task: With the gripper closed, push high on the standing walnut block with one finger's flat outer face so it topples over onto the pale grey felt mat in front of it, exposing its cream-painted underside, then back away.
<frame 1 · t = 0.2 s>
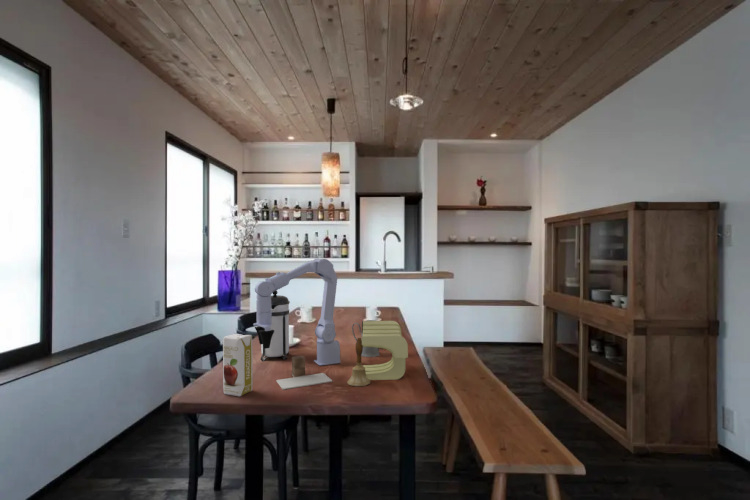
hand: (264, 346, 156), 10 cm above the table, fingers open, 7 cm apart
coffee press: (274, 356, 178), on the table
hand bell: (358, 383, 141), on the table, touching slatted curved stool
slatted curved stool: (383, 374, 151), on the table, touching hand bell
glass holder: (365, 354, 181), on the table
juice carton: (238, 393, 132), on the table
walnut block: (298, 375, 150), on the table
felt mat: (304, 381, 143), on the table
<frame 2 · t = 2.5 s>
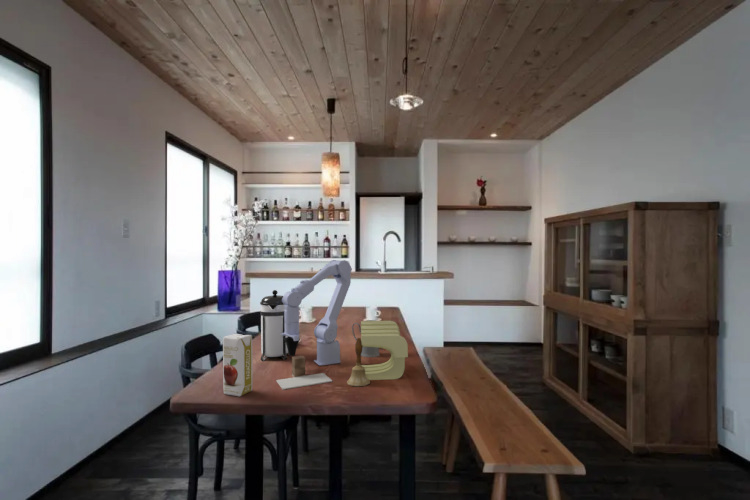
hand: (291, 355, 159), 5 cm above the table, fingers closed
nothing on the table moved.
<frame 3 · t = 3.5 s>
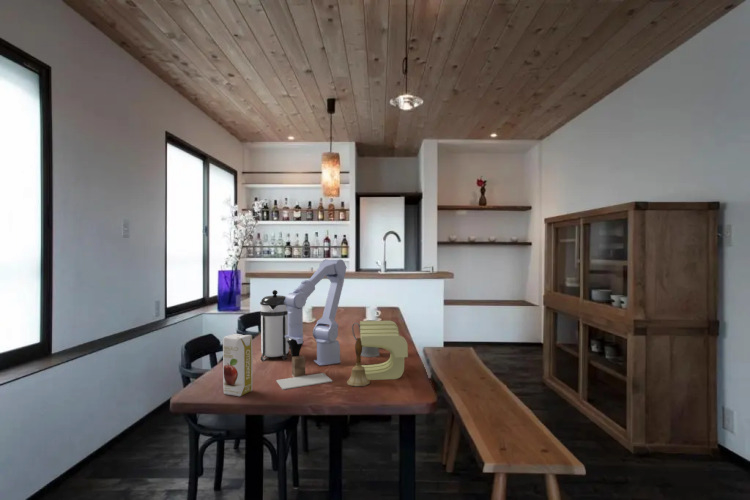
hand: (295, 358, 154), 5 cm above the table, fingers closed
nothing on the table moved.
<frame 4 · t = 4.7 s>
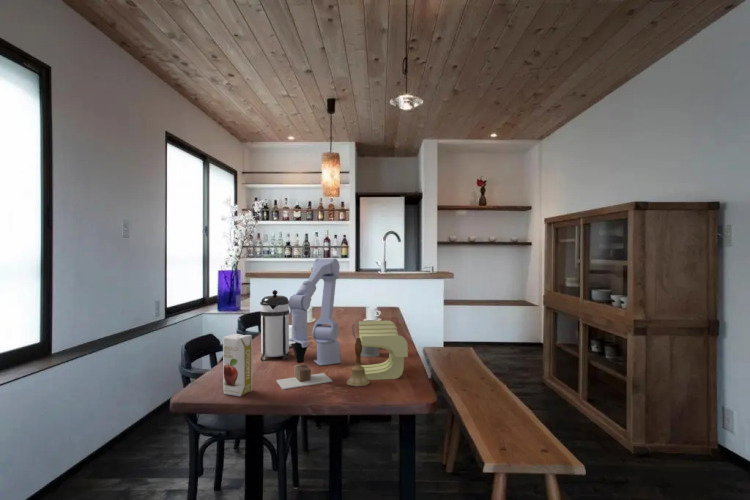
hand: (299, 362, 148), 5 cm above the table, fingers closed
walnut block: (299, 370, 148), point 2 cm above the table, tilted 90°, touching felt mat
everything else where it was.
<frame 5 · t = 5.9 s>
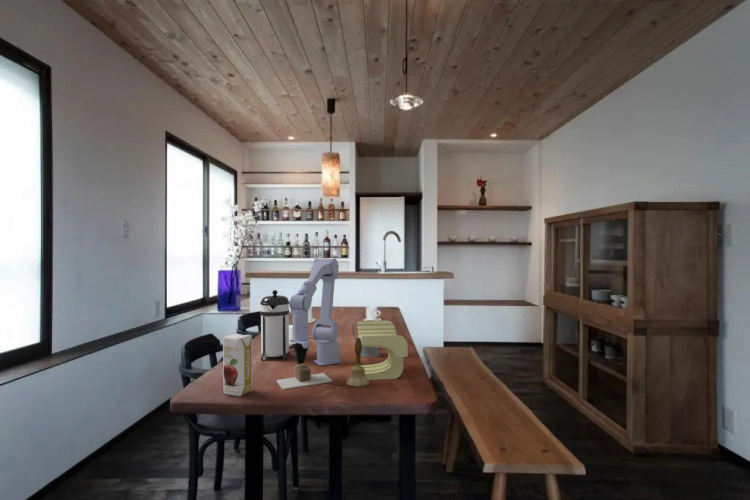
hand: (300, 363, 147), 5 cm above the table, fingers closed
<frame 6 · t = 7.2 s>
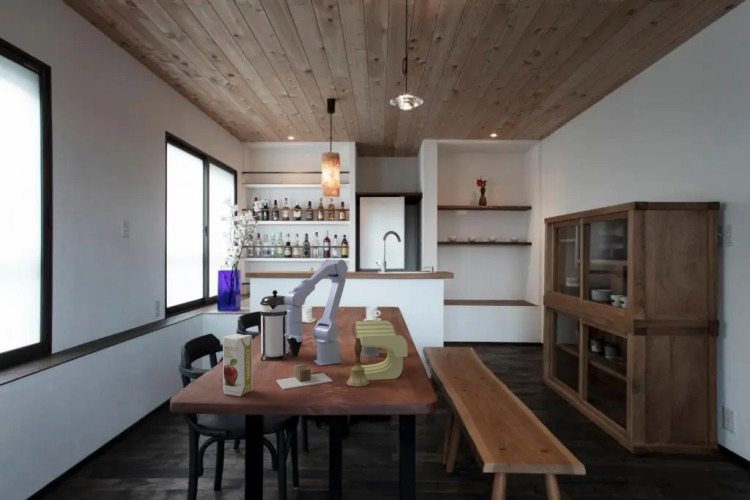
hand: (295, 356, 155), 6 cm above the table, fingers closed
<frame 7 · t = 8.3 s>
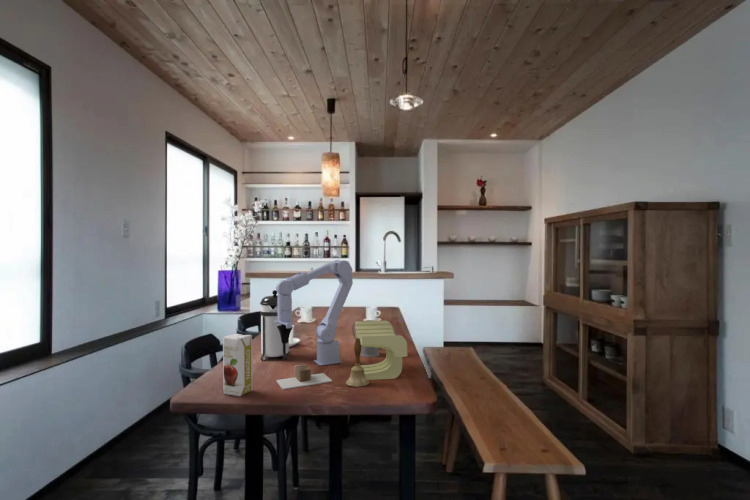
hand: (284, 343, 161), 10 cm above the table, fingers closed
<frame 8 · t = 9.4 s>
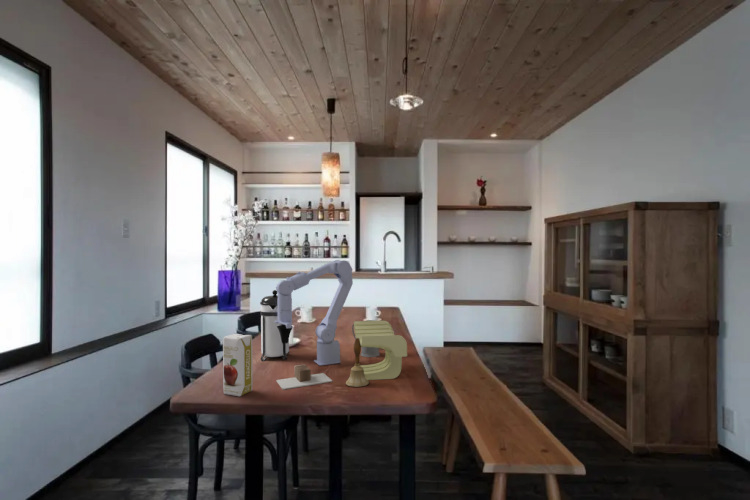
hand: (284, 343, 161), 10 cm above the table, fingers closed
at the end: walnut block tilted 90°; walnut block inside the target area (3.3 cm from its centre), point 2.4 cm above the table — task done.
